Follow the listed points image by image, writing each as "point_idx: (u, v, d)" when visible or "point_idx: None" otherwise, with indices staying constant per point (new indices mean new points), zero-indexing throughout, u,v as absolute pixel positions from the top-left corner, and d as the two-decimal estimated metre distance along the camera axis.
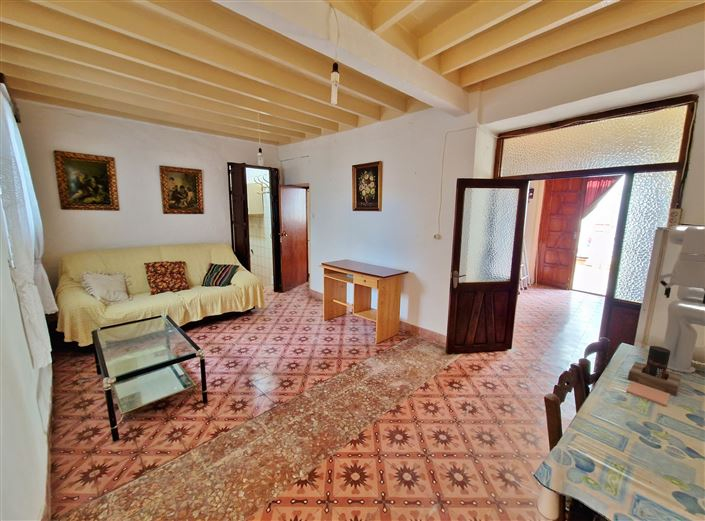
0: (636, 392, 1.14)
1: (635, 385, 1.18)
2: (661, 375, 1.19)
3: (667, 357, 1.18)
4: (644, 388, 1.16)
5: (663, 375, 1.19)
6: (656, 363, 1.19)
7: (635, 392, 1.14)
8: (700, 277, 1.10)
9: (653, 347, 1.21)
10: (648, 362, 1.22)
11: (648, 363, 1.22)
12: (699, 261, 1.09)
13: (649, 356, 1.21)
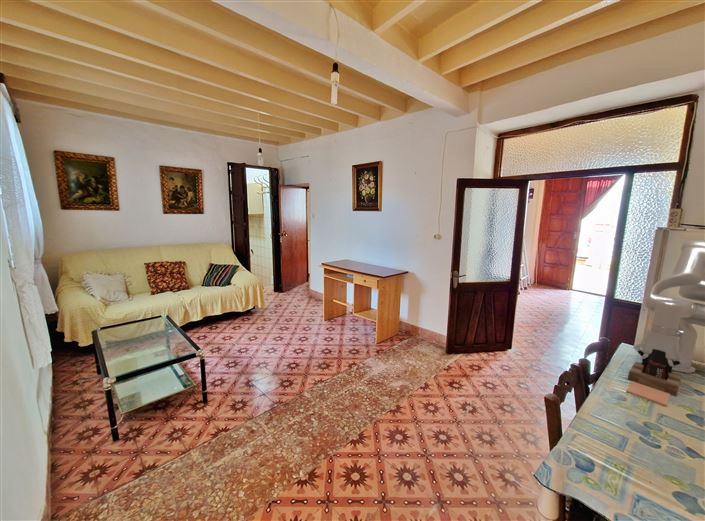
0: (636, 392, 1.14)
1: (635, 385, 1.18)
2: (661, 375, 1.19)
3: None
4: (644, 388, 1.16)
5: (663, 375, 1.19)
6: (656, 363, 1.19)
7: (635, 392, 1.14)
8: (669, 349, 1.16)
9: None
10: (648, 362, 1.22)
11: (648, 363, 1.22)
12: (668, 334, 1.16)
13: (649, 356, 1.21)
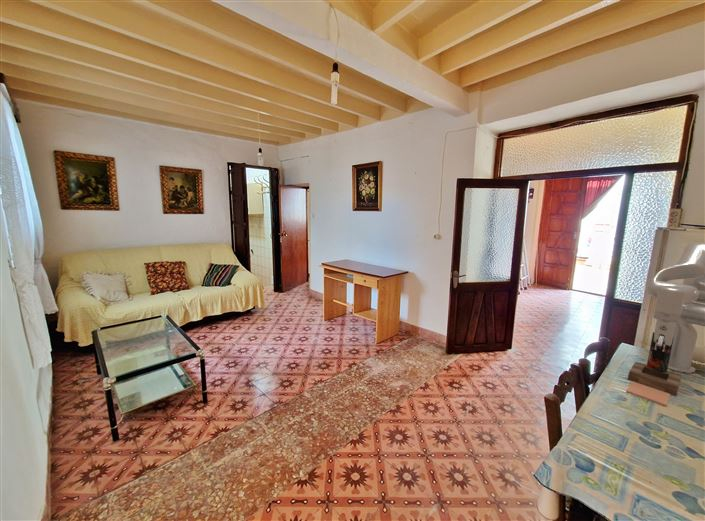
0: (636, 392, 1.14)
1: (635, 385, 1.18)
2: (650, 357, 1.21)
3: None
4: (644, 388, 1.16)
5: (652, 359, 1.21)
6: None
7: (635, 392, 1.14)
8: None
9: None
10: None
11: None
12: (654, 316, 1.20)
13: None
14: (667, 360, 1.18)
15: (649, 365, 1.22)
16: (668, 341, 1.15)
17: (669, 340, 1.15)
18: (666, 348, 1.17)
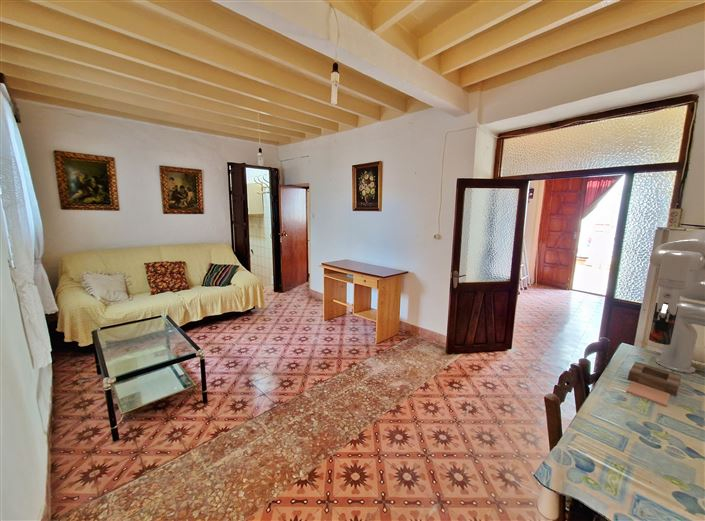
0: (636, 392, 1.14)
1: (635, 385, 1.18)
2: (653, 329, 1.13)
3: None
4: (644, 388, 1.16)
5: (655, 330, 1.13)
6: (653, 316, 1.15)
7: (635, 392, 1.14)
8: None
9: None
10: None
11: None
12: (657, 284, 1.12)
13: None
14: (671, 331, 1.10)
15: (651, 338, 1.14)
16: (672, 310, 1.07)
17: (673, 308, 1.07)
18: (670, 318, 1.09)
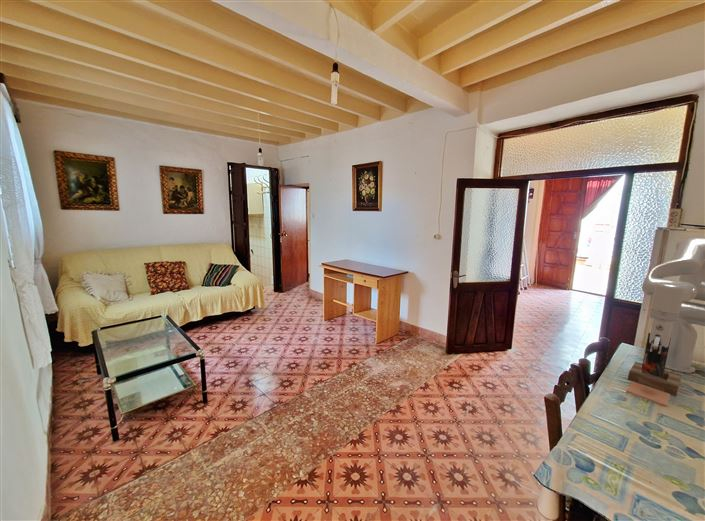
0: (636, 392, 1.14)
1: (635, 385, 1.18)
2: (645, 359, 1.12)
3: None
4: (644, 388, 1.16)
5: (647, 361, 1.11)
6: (646, 346, 1.13)
7: (635, 392, 1.14)
8: (650, 332, 1.10)
9: None
10: None
11: None
12: (649, 315, 1.10)
13: None
14: (663, 363, 1.09)
15: (644, 368, 1.12)
16: (665, 342, 1.06)
17: (666, 341, 1.05)
18: (662, 350, 1.08)
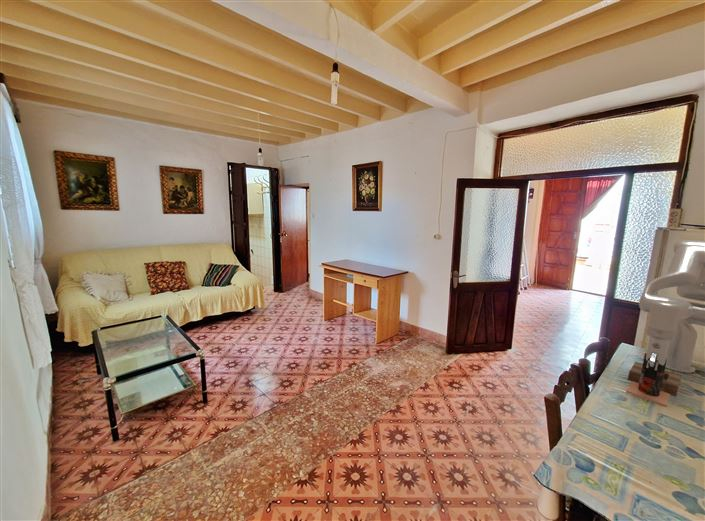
0: (636, 392, 1.14)
1: (635, 385, 1.18)
2: (642, 379, 1.14)
3: None
4: None
5: (644, 381, 1.13)
6: (642, 366, 1.15)
7: (635, 392, 1.14)
8: (647, 349, 1.11)
9: None
10: None
11: None
12: (646, 332, 1.12)
13: None
14: (659, 383, 1.10)
15: (640, 388, 1.14)
16: (661, 360, 1.07)
17: (662, 359, 1.06)
18: (658, 371, 1.10)
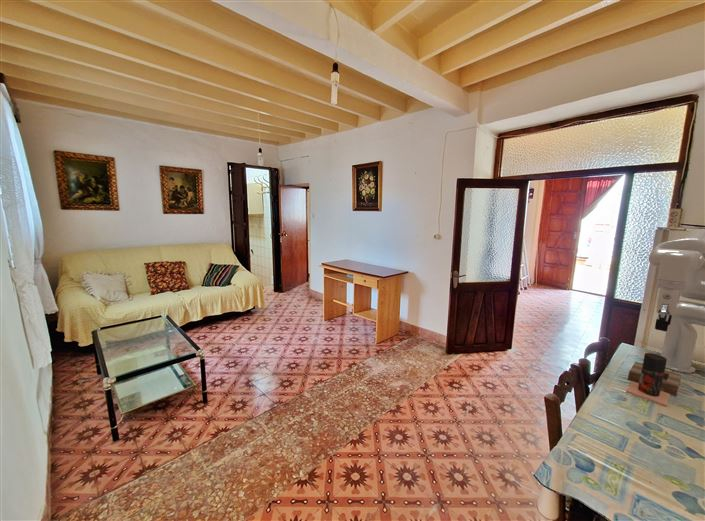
0: (636, 392, 1.14)
1: (635, 385, 1.18)
2: (642, 379, 1.14)
3: (648, 362, 1.11)
4: None
5: (644, 381, 1.13)
6: (642, 366, 1.15)
7: (635, 392, 1.14)
8: None
9: (655, 354, 1.13)
10: None
11: None
12: (656, 285, 1.11)
13: None
14: (659, 383, 1.10)
15: (640, 388, 1.14)
16: (672, 311, 1.06)
17: (673, 309, 1.06)
18: (659, 371, 1.10)
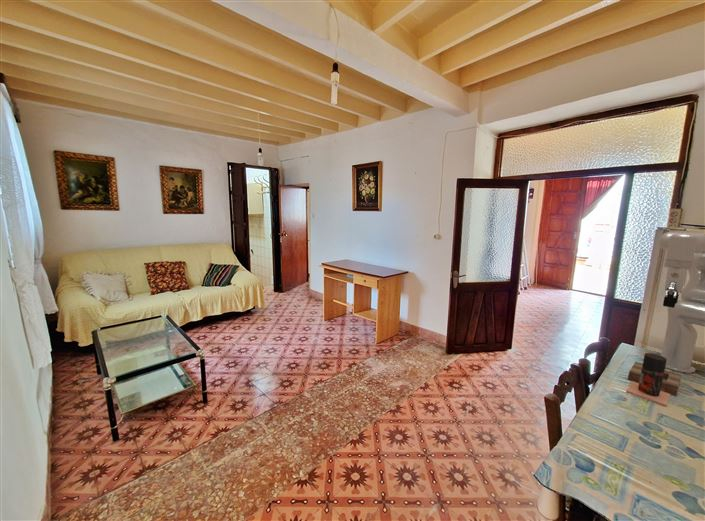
0: (636, 392, 1.14)
1: (635, 385, 1.18)
2: (642, 379, 1.14)
3: (648, 362, 1.11)
4: None
5: (644, 381, 1.13)
6: (642, 366, 1.15)
7: (635, 392, 1.14)
8: None
9: (654, 354, 1.13)
10: None
11: None
12: (665, 265, 1.19)
13: None
14: (659, 383, 1.10)
15: (640, 388, 1.14)
16: (679, 288, 1.14)
17: (681, 287, 1.14)
18: (658, 371, 1.10)
